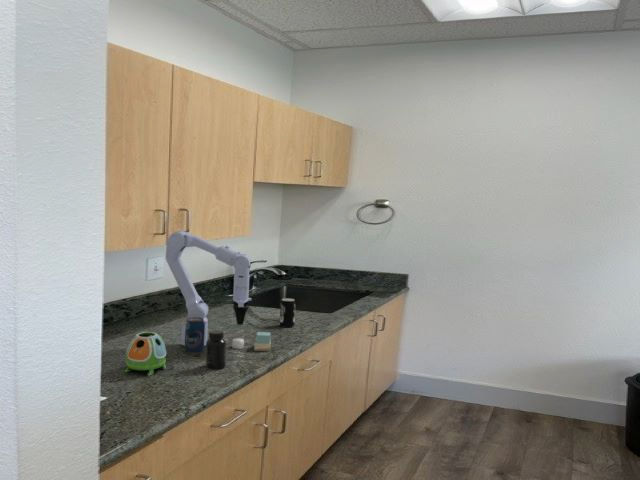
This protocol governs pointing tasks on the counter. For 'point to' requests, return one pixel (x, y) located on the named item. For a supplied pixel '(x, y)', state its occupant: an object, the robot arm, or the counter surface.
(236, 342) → the stoneware puck
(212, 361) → the supplement bottle
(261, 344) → the beech block
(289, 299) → the beverage can
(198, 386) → the counter surface
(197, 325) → the soda can
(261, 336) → the teal block
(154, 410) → the counter surface
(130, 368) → the turtle holder
